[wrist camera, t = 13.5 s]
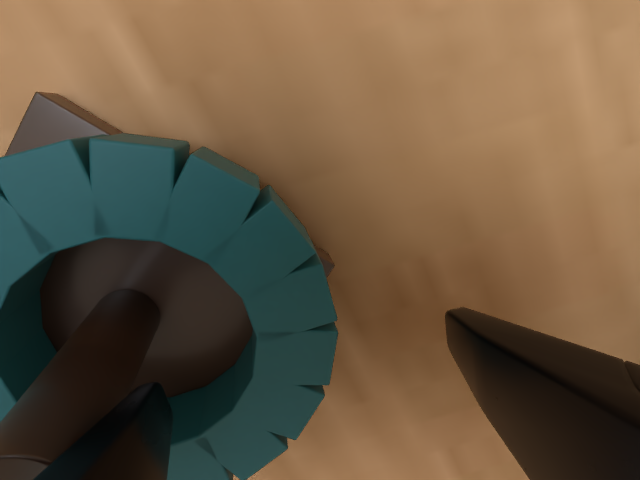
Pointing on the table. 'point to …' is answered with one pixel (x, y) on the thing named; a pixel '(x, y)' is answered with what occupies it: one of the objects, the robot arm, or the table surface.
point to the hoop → (197, 241)
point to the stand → (115, 320)
